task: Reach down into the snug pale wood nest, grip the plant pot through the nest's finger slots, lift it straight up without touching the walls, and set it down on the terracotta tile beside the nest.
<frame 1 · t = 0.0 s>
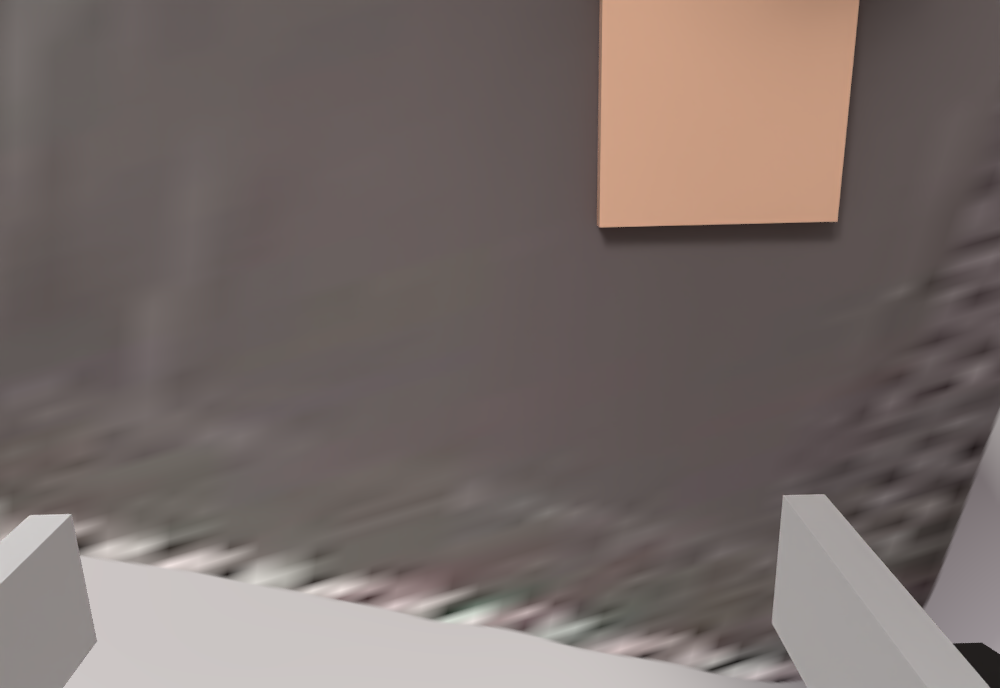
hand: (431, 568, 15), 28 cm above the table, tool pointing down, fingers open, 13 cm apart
tile: (719, 99, 39), on the table
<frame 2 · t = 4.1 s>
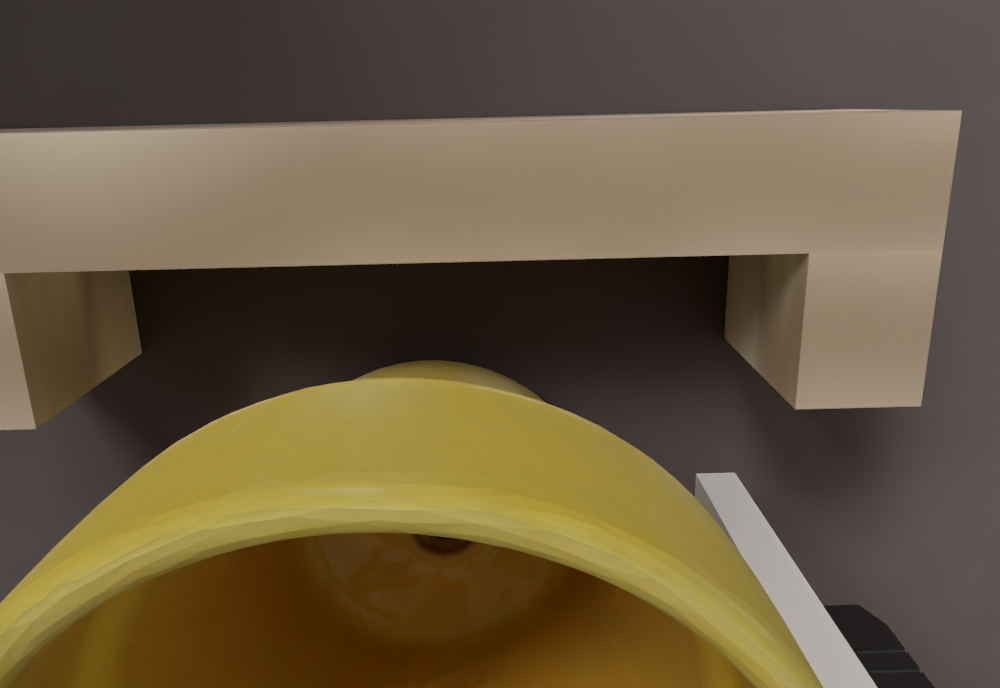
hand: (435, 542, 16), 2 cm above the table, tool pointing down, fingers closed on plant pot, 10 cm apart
nest: (441, 498, 17), on the table
plant pot: (442, 493, 18), on the table, touching gripper
when the fingers open (4 cm above the table, at t = 11.4 s): plant pot drops 1 cm, resting on tile.
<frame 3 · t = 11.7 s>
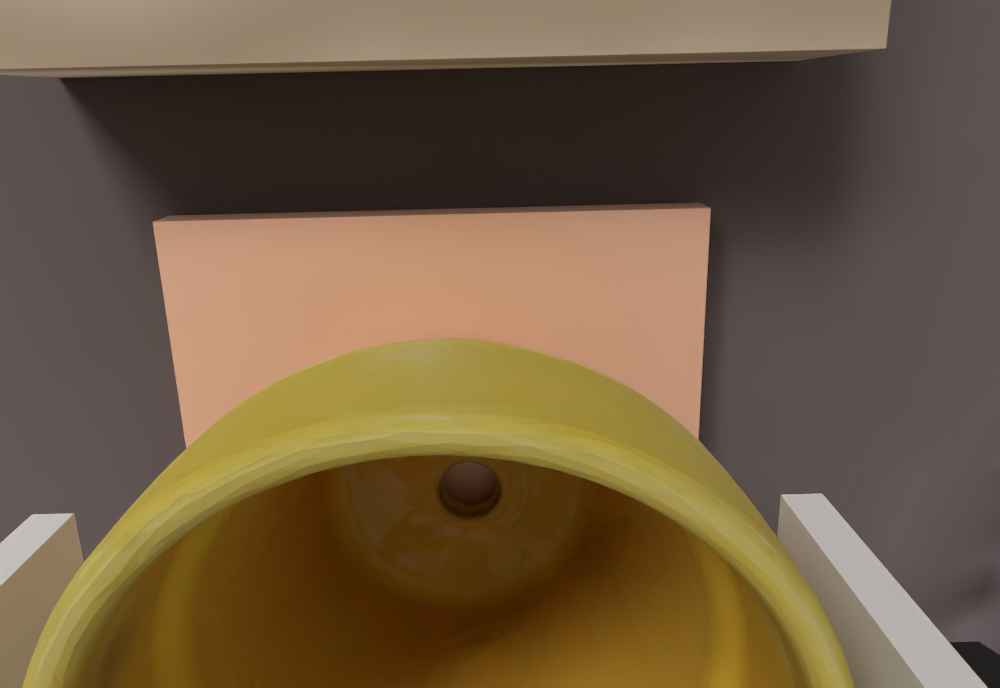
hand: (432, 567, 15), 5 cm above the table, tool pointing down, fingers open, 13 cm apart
tile: (446, 451, 20), on the table
plant pot: (466, 464, 19), point 1 cm above the table, touching tile
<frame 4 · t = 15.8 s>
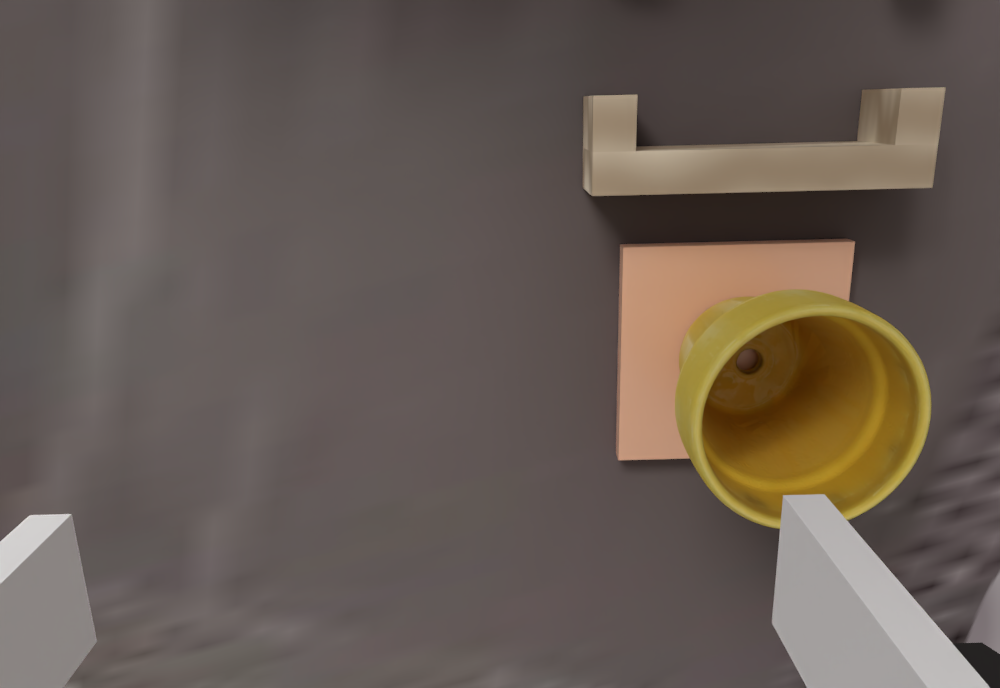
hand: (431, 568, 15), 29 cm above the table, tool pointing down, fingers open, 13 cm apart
tile: (726, 349, 44), on the table
nest: (747, 17, 39), on the table
plant pot: (740, 353, 43), point 1 cm above the table, touching tile
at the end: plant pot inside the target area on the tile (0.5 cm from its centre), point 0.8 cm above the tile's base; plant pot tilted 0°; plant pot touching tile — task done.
